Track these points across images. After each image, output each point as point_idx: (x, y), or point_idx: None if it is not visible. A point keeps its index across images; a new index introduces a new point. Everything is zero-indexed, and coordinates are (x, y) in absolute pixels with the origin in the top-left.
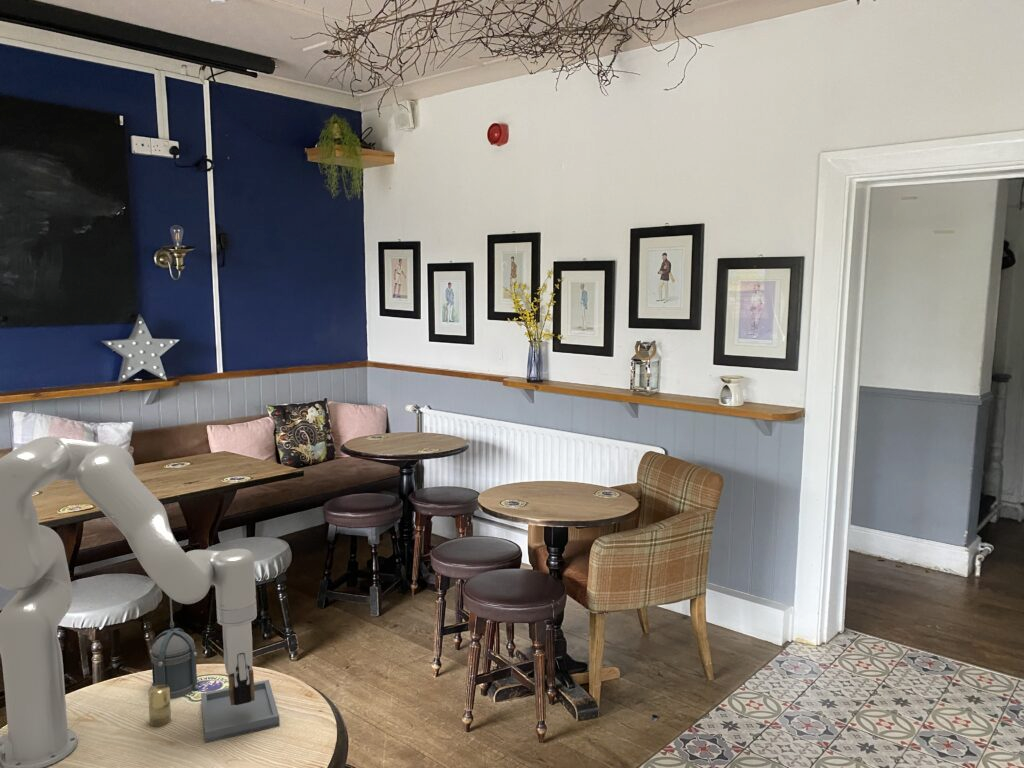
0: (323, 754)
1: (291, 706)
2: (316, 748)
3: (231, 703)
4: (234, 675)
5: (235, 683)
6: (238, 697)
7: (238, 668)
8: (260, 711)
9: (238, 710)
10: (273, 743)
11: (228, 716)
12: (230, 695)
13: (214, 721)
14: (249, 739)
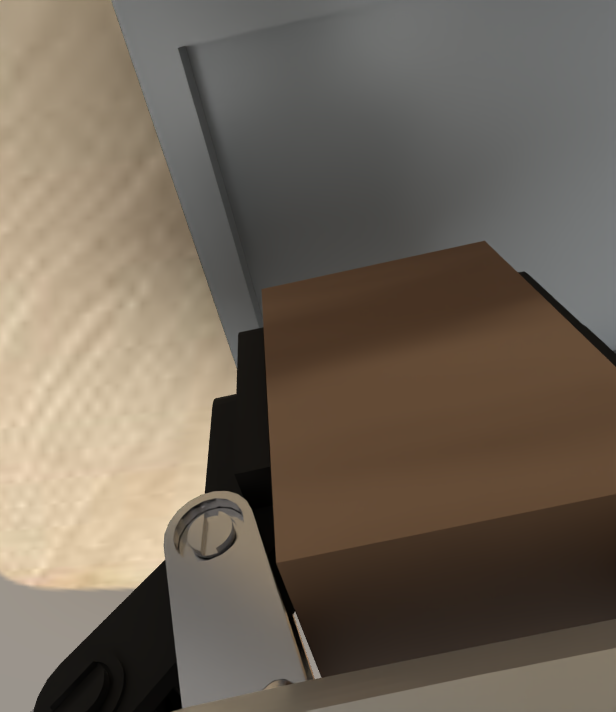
0: (26, 577)
1: None
2: (68, 557)
3: (265, 302)
4: (184, 701)
5: (172, 570)
6: (232, 411)
7: (555, 601)
8: None
9: (484, 219)
10: (111, 421)
11: (429, 158)
12: (287, 337)
13: (394, 48)
14: (158, 310)
